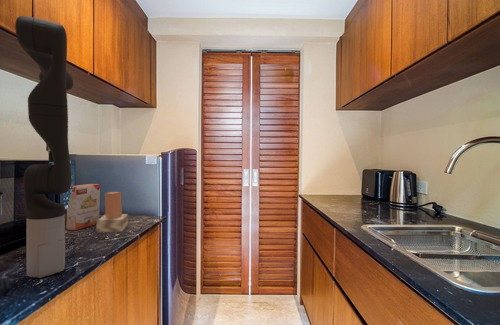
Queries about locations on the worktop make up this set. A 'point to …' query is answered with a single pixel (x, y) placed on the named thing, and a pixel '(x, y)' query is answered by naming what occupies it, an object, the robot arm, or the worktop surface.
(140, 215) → the worktop surface
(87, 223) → the cracker box
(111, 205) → the orange block
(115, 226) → the birch base block
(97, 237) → the worktop surface
